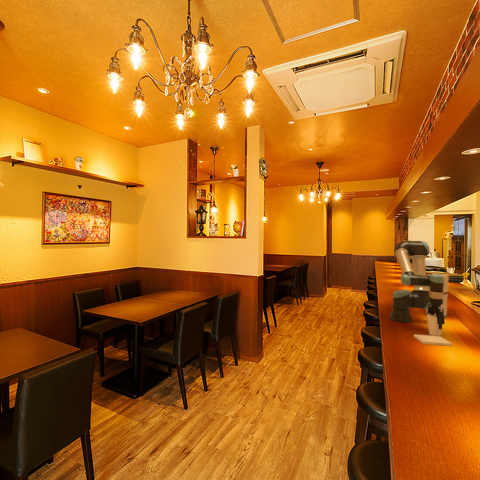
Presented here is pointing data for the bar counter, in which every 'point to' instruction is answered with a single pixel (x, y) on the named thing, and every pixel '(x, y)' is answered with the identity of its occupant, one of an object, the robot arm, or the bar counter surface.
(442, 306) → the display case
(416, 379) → the bar counter surface
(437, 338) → the tile
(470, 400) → the bar counter surface
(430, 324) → the foam cup
